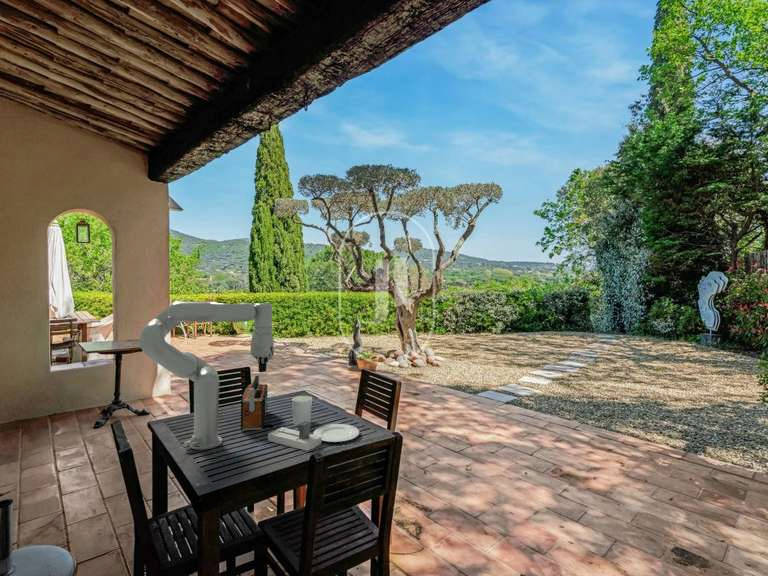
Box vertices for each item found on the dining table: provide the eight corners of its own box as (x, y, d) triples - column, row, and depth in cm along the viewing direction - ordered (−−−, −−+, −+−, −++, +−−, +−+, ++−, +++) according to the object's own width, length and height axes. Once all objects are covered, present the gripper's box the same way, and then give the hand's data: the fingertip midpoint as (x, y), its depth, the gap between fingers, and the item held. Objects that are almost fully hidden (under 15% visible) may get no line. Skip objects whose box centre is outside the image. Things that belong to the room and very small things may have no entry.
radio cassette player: (263, 432, 185) (263, 388, 185) (239, 433, 183) (240, 389, 183) (267, 411, 214) (267, 373, 214) (246, 412, 212) (247, 374, 211)
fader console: (308, 451, 166) (308, 443, 165) (267, 440, 176) (268, 433, 175) (321, 443, 174) (321, 436, 173) (281, 433, 184) (282, 426, 183)
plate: (326, 449, 168) (326, 445, 168) (305, 433, 185) (305, 429, 185) (368, 439, 180) (368, 434, 180) (345, 424, 197) (345, 420, 197)
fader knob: (303, 439, 169) (303, 425, 169) (297, 438, 171) (298, 424, 170) (310, 435, 174) (311, 422, 173) (305, 434, 175) (305, 420, 175)
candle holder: (313, 425, 195) (314, 400, 195) (293, 427, 191) (293, 402, 191) (309, 418, 204) (310, 394, 204) (290, 420, 201) (290, 396, 200)
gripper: (244, 330, 179) (243, 371, 180) (269, 332, 173) (269, 375, 173) (256, 328, 186) (256, 368, 187) (281, 331, 179) (281, 372, 180)
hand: (262, 371), depth 180 cm, fingers closed
